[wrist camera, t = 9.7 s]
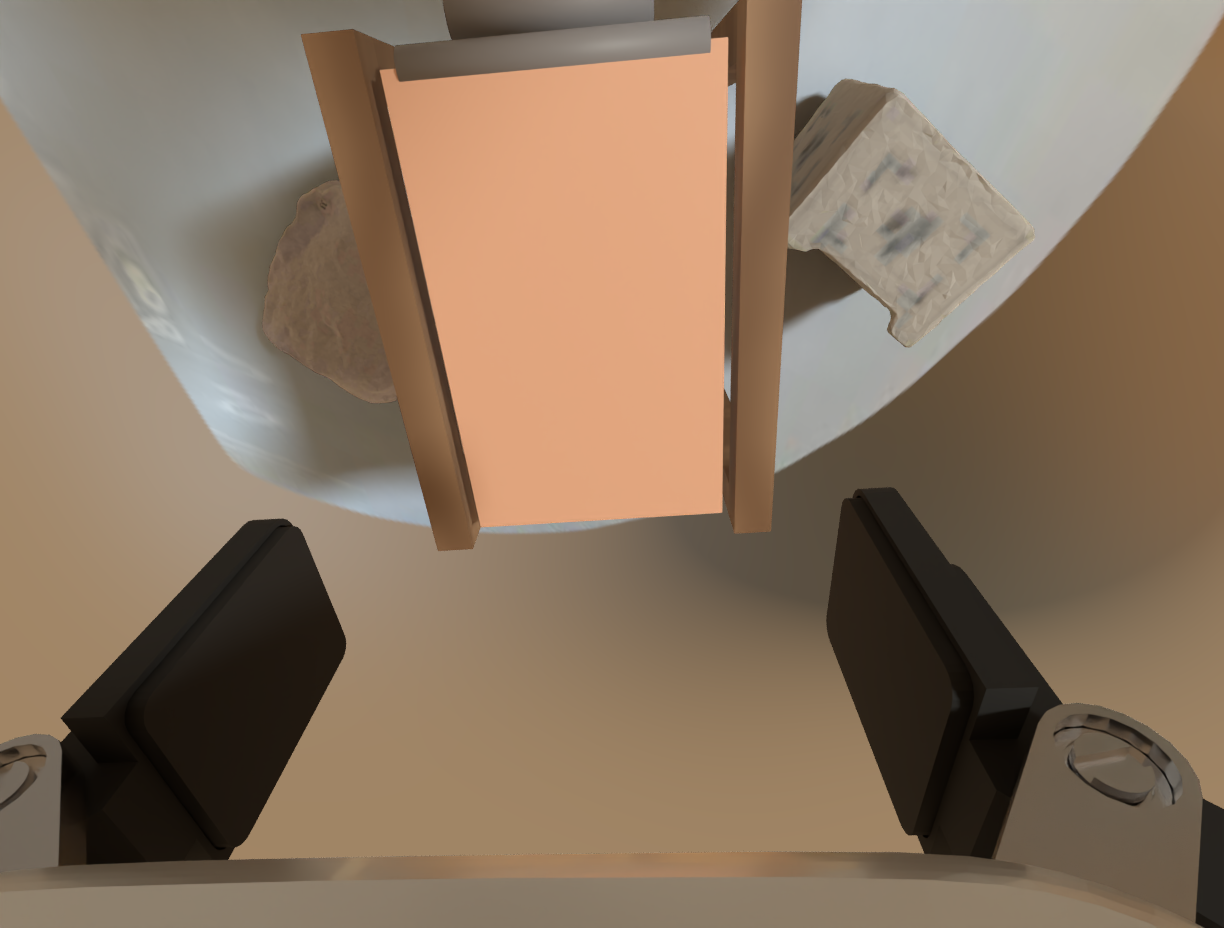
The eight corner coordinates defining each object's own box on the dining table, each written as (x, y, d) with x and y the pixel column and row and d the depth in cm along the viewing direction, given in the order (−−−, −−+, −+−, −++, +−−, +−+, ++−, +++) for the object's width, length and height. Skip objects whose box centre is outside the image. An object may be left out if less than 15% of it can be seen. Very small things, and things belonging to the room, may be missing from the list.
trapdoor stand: (711, 61, 32) (802, -16, 16) (711, 379, 41) (770, 531, 25) (453, 85, 33) (300, 34, 17) (506, 393, 41) (437, 550, 25)
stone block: (288, 327, 41) (414, 403, 42) (236, 338, 37) (378, 423, 37) (344, 158, 37) (485, 246, 37) (292, 147, 32) (453, 247, 33)
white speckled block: (732, 210, 36) (772, 234, 27) (834, 76, 32) (919, 50, 23) (848, 308, 38) (921, 360, 29) (953, 192, 35) (1071, 210, 26)
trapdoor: (715, -45, 18) (730, -71, 16) (713, 481, 27) (722, 514, 24) (388, -12, 18) (355, -33, 16) (491, 495, 27) (480, 528, 25)
